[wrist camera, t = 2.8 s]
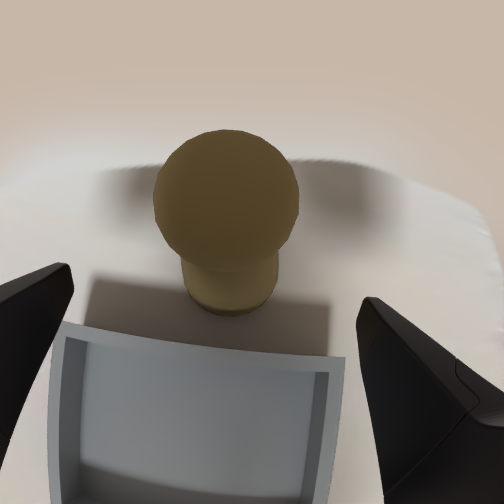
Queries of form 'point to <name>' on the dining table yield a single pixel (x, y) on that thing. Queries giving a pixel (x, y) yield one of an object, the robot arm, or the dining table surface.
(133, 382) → the tray
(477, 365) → the dining table surface
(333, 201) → the dining table surface
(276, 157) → the cork
